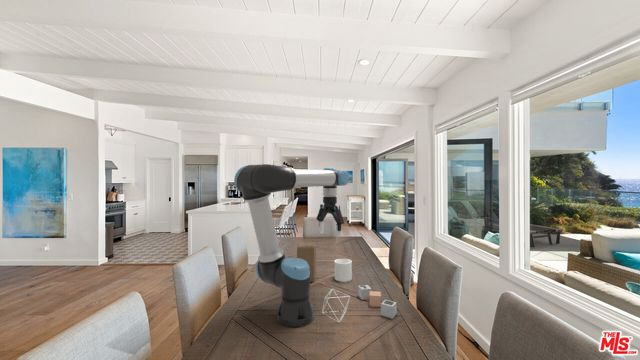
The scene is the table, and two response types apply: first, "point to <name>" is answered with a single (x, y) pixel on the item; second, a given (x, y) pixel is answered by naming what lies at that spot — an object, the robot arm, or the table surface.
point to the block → (308, 257)
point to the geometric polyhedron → (340, 301)
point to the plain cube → (375, 299)
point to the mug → (343, 270)
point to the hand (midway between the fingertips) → (329, 235)
